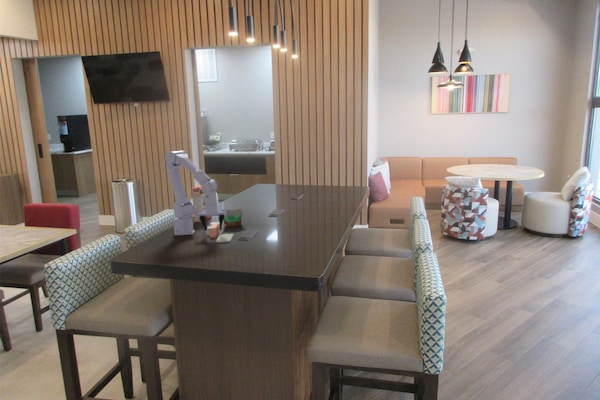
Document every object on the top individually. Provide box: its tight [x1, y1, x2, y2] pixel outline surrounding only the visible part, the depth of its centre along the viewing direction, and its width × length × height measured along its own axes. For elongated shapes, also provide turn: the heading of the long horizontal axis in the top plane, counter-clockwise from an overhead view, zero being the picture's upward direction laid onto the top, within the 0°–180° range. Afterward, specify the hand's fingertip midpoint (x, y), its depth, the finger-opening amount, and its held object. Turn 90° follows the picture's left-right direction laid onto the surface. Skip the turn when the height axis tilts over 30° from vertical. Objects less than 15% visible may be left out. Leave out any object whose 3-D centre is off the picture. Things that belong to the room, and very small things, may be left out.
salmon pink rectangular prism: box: [208, 224, 219, 239], centre depth 224 cm, size 3×10×5 cm, turn 2°
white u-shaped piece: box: [206, 221, 226, 237], centre depth 229 cm, size 7×13×4 cm, turn 2°
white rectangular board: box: [215, 233, 234, 243], centre depth 216 cm, size 7×13×1 cm, turn 2°
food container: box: [220, 207, 244, 229], centre depth 239 cm, size 12×6×10 cm, turn 105°
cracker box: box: [191, 184, 213, 223], centre depth 258 cm, size 14×6×21 cm, turn 168°
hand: (213, 229), depth 220 cm, fingers open, 7 cm apart
